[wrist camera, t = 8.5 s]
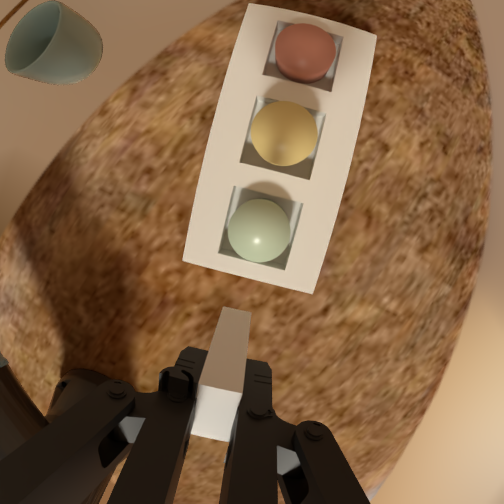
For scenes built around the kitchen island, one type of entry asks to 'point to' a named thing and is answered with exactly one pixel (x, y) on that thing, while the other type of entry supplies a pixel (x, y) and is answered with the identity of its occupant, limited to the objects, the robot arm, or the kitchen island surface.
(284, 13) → the panel
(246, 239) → the sage button
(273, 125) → the ochre button
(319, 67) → the brick button
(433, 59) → the kitchen island surface
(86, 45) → the cup
